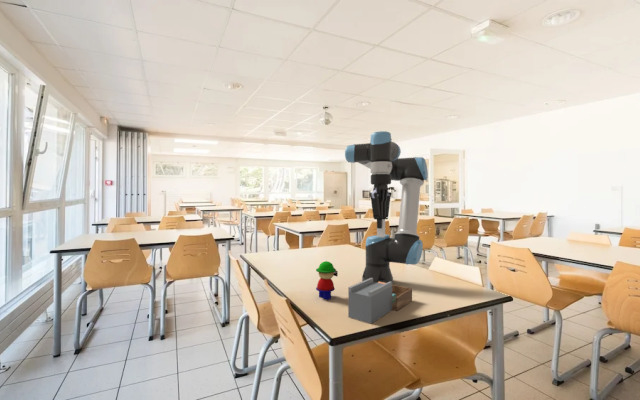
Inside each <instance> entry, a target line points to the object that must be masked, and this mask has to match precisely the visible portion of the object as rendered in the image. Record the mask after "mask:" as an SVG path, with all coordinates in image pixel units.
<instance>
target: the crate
mask: <svg viewBox="0 0 640 400" xmlns="http://www.w3.org/2000/svg"><path fill="white" fill-rule="evenodd" d="M392 293H393V294H396V302H395V303H393V304H392V310H391V311H396V312H398V311H400V310H401V309H402V308H404V307H405V306H407V305H409V304H410V303H411V302H412V301H413V288H410V287H406V286H400V285H396V284H392Z"/></svg>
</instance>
